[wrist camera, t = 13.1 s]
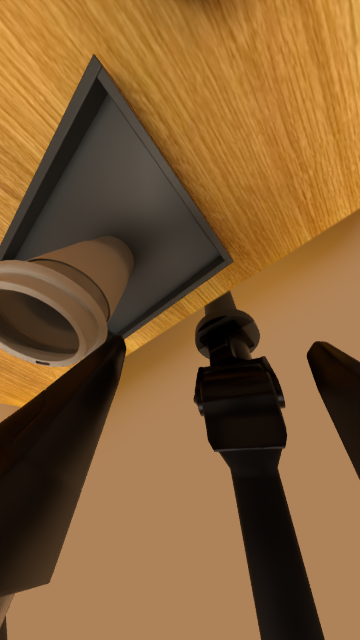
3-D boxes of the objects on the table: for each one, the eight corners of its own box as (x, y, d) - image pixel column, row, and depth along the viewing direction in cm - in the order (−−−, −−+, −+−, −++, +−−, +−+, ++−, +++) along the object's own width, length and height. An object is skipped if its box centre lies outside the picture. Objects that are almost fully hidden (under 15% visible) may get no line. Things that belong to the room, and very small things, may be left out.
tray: (229, 253, 18) (233, 261, 16) (117, 336, 27) (110, 349, 25) (110, 75, 12) (93, 52, 10) (11, 257, 20) (-10, 265, 18)
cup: (82, 280, 21) (-14, 359, 11) (74, 215, 17) (-88, 253, 7) (143, 293, 21) (101, 380, 12) (148, 233, 17) (92, 291, 8)
